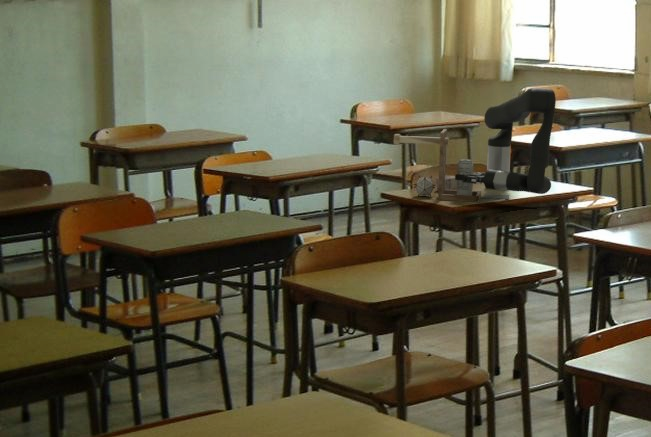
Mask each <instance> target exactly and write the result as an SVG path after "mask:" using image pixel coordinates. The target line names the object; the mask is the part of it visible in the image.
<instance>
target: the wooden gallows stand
mask: <svg viewBox="0 0 651 437" xmlns="http://www.w3.org/2000/svg"><path fill="white" fill-rule="evenodd" d="M447 136H448V128H443V130H442V131H440V144H439V163H438V164H439V166H438V167H439V168H438V177H439V191H438V190H437V191H438V196H437V199H438V200H439V201H440V200H441V201H454V202H455V201H458V202H461V201H463V202H476V201H480V200H479V199H481V196H482V191H481V190H472V196H469V195H457V190H445V175H446V172H447V171H446V169H447V168H446V166H447V164H446V163H447V145H444V140H445V138H448V137H447Z"/></svg>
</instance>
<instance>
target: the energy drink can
mask: <svg viewBox="0 0 651 437" xmlns="http://www.w3.org/2000/svg"><path fill="white" fill-rule="evenodd" d="M458 161H459V162H458V163H457V171H456V172H457V173H456V174H461V175H470V174H473V172H474V163H473V159H468V158H461V159H459V160H458ZM472 177H473V176H472ZM467 180H468V178H467ZM473 184H474V183H466V182H463V181H461V180H457V195H469V196H472V191H473Z"/></svg>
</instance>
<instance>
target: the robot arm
mask: <svg viewBox="0 0 651 437" xmlns="http://www.w3.org/2000/svg"><path fill="white" fill-rule="evenodd" d="M556 98H557V97H556V94H555V91H554V90H553V89H552V88H543V87H542V88H541V87H539V88H538V87H530V88H528V89H526V91H524V92H523V93H521V94H520V95H517V96H515V97H513V98H511V99H509V100H508V101H505V102H503V103H501V104H499V105H496V106H490V107H489V108H488V109H486V111H485V113H484V117H483V118H484V124H485V126H486V127H487V128H488V129H491V130H500V131H499V133H497V134H496V135H493V136H492V137H489V138H488V141H487V161H486V162H487V164H486V165H487V166H486V172H479V171H477V172H474V171H473V174H470V175H461V174H457V173H455V175H454V176H455V180H461V181H463V182H466V183H473V184H474V185H475V184H478V185H482V184H483V186H484V187H485V189H487V190H495V191H509V192H510V191H512V192H525V193H531V194H539V195H544V194H547V193H548V192H549V191H550V190H551V187H552V182H551V180H550V179H549V178H548V177H547V176H546V169H547V168H548V167H549V164H550V143H551V135H552V130H553V129H552V128H553V122H554V119H555V110H556V102H557V101H556ZM531 113H535V114H543V119H542V123H541V125H540V128H539V129H538V131H537V133H536V134H535V136H534V137H533V139H532V141H531V144H530V151H529V152H530V154H529V167H528V171H527V174H525V173H520V172H515V171H514V172H512V171H511V170H510V168H511V167H510V166H511V144H512V138H513V128H514V123H518V122H520V121H523V120H526V119H527V118H528V117H529V116H530V114H531ZM472 176H473V177H472ZM467 178H468V180H467Z"/></svg>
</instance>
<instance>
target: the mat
mask: <svg viewBox="0 0 651 437" xmlns="http://www.w3.org/2000/svg"><path fill="white" fill-rule="evenodd" d="M509 196H510V194H500V193H498V194H497V193H484V194H483V196H482V200H485V199H486V200H500V199H505V200H504V201H509V200H510V197H509Z"/></svg>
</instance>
